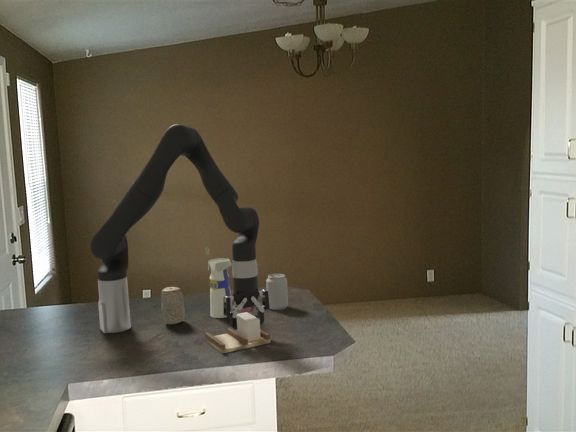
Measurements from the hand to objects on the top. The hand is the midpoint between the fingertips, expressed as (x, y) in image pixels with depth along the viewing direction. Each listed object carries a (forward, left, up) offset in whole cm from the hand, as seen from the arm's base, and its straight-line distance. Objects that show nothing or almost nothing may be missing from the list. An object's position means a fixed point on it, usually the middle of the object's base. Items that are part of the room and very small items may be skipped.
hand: (247, 326), depth 178 cm
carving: (-14, +30, -4) cm, 33 cm away
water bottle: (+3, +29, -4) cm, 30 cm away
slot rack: (-4, 0, -4) cm, 5 cm away
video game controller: (+9, +20, -4) cm, 22 cm away
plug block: (0, 0, -3) cm, 3 cm away
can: (+23, +25, -4) cm, 35 cm away
